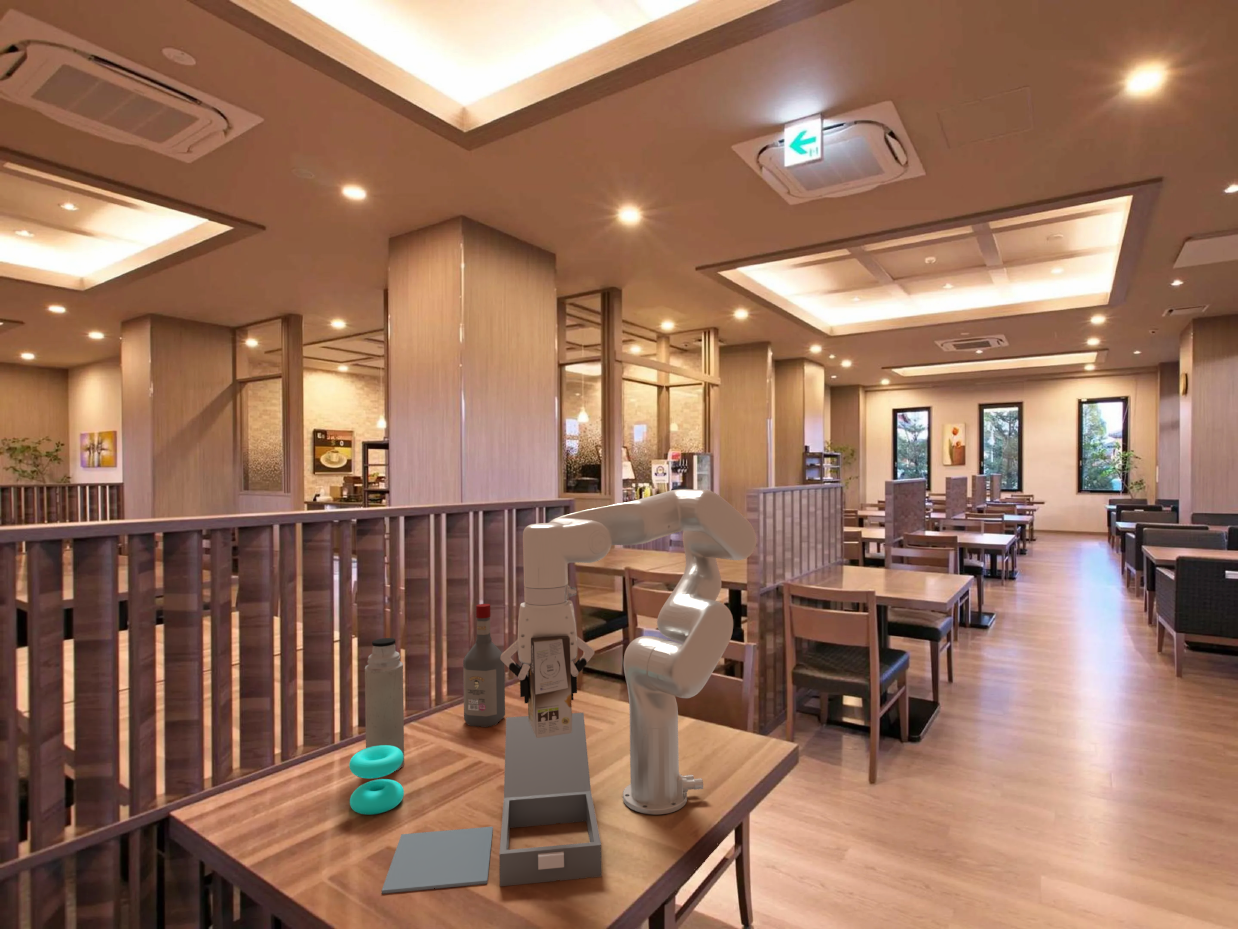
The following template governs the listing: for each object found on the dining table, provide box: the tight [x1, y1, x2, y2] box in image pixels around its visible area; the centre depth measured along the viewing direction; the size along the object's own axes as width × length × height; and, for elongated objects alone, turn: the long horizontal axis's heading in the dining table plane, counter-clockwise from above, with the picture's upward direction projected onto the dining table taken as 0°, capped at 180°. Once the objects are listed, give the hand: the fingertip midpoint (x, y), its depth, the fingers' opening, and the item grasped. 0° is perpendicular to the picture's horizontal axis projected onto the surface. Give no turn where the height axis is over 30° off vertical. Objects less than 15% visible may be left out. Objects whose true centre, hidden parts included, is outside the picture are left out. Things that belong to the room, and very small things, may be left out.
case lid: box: [503, 712, 592, 799], centre depth 131 cm, size 16×18×1 cm
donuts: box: [348, 745, 405, 816], centre depth 130 cm, size 10×10×10 cm
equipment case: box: [498, 790, 603, 887], centre depth 113 cm, size 16×19×5 cm
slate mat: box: [381, 826, 494, 894], centre depth 111 cm, size 16×16×1 cm
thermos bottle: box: [364, 637, 405, 771], centre depth 147 cm, size 8×8×28 cm
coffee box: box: [527, 636, 573, 738], centre depth 114 cm, size 9×6×16 cm
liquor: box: [462, 603, 506, 728], centre depth 173 cm, size 9×9×30 cm
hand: (548, 698), depth 114 cm, fingers closed on coffee box, 7 cm apart
